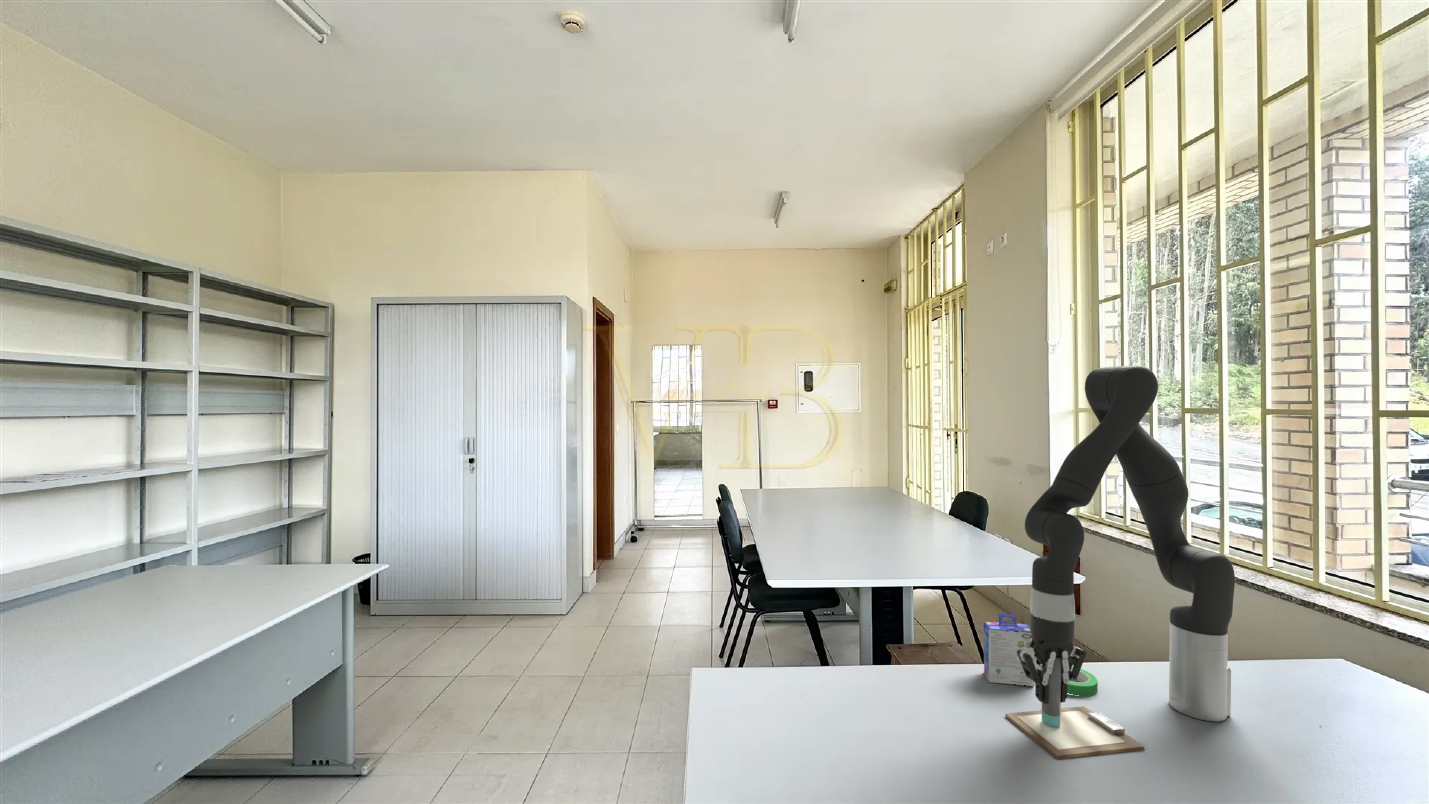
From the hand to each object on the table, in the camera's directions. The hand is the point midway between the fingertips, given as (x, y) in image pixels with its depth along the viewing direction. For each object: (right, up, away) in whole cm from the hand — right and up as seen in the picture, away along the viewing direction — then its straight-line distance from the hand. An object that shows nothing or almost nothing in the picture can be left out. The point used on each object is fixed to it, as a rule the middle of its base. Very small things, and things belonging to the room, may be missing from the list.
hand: (1050, 700), depth 113 cm
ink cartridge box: (+2, -5, +20) cm, 20 cm away
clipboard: (+3, -5, -1) cm, 6 cm away
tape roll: (+14, -6, +18) cm, 23 cm away
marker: (0, -4, 0) cm, 4 cm away
